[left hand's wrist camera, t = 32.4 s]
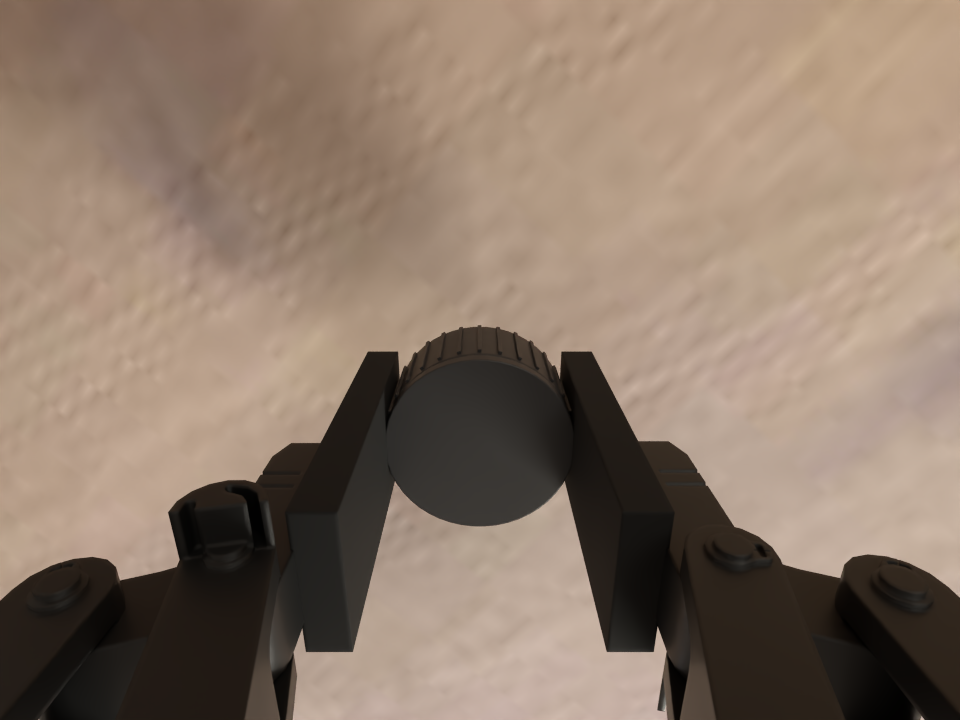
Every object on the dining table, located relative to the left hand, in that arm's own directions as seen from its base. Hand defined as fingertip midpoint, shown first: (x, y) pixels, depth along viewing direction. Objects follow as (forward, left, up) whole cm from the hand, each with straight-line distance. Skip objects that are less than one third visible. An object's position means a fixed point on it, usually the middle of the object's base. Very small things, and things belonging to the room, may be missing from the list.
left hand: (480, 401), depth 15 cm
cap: (0, 0, +2) cm, 2 cm away
